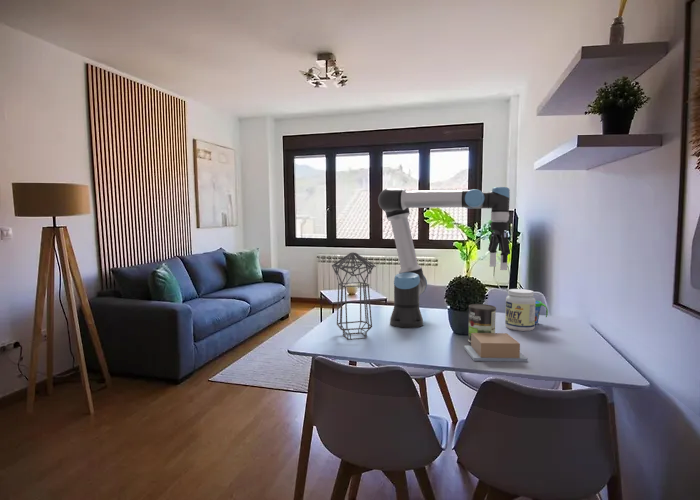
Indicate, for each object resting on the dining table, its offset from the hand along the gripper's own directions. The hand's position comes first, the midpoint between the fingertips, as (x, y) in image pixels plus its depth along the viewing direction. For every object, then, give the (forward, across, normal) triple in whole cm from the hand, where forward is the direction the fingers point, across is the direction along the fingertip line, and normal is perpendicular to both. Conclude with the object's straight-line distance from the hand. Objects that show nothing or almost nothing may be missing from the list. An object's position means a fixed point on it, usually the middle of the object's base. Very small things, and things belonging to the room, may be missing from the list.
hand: (497, 268), depth 184 cm
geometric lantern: (+27, -18, +66) cm, 74 cm away
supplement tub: (+26, -5, -9) cm, 28 cm away
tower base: (+26, -42, +16) cm, 52 cm away
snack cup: (+26, +4, -17) cm, 32 cm away
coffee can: (+27, -26, +15) cm, 40 cm away
